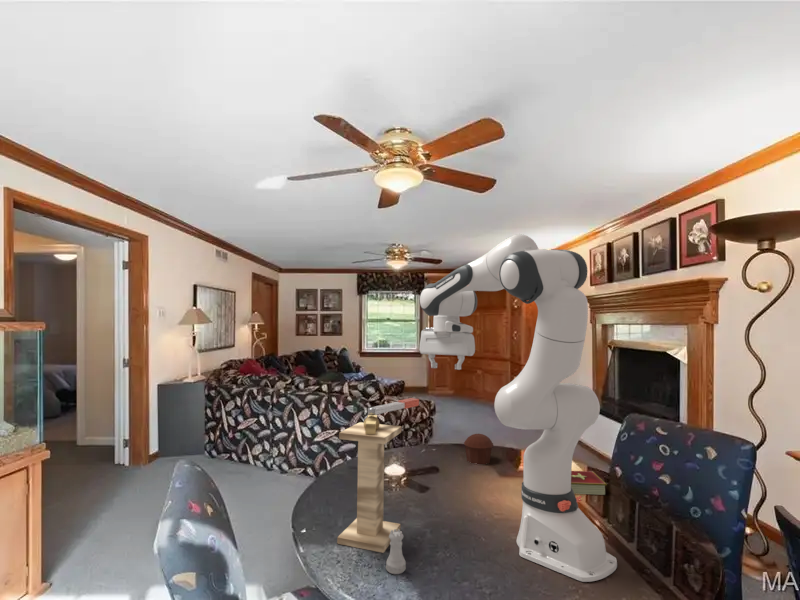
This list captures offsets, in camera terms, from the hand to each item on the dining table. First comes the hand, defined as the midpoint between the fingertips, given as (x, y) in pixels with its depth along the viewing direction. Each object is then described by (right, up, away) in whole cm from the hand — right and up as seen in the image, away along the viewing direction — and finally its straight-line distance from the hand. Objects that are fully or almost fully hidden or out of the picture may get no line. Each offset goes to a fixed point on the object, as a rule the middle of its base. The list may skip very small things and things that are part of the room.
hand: (445, 368), depth 147 cm
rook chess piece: (-16, -36, -51) cm, 65 cm away
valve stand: (-23, -36, -37) cm, 56 cm away
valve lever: (-17, -6, -29) cm, 34 cm away
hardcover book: (+40, -39, -2) cm, 56 cm away
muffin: (+15, -40, +24) cm, 48 cm away
